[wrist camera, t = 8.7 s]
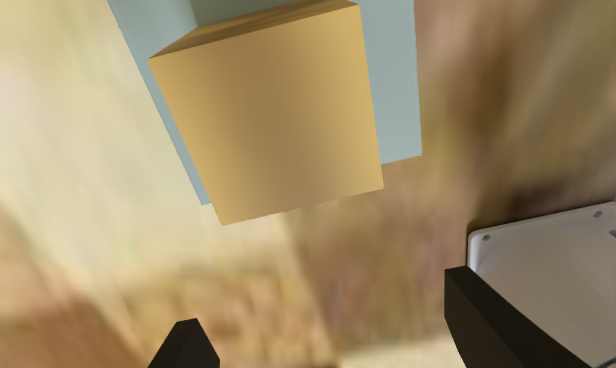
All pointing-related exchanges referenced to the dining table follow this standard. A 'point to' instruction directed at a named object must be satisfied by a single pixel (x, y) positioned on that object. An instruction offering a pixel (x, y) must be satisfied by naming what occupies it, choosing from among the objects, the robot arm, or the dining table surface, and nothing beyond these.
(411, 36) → the base block
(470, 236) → the robot arm
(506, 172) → the dining table surface
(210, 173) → the ochre block
